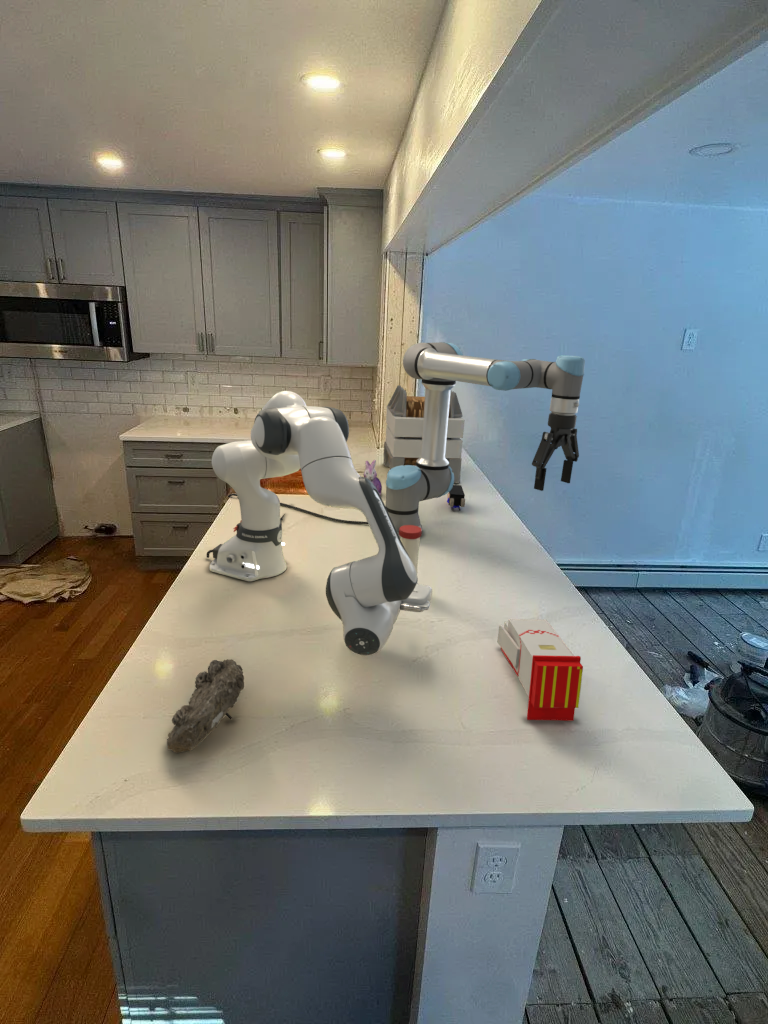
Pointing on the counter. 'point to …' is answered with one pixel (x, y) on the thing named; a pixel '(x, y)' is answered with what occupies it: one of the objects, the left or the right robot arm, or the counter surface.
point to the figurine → (372, 475)
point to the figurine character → (456, 497)
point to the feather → (281, 518)
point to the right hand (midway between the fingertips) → (552, 485)
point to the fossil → (206, 705)
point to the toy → (542, 668)
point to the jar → (412, 549)
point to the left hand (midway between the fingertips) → (393, 577)
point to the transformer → (419, 431)
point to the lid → (410, 532)
